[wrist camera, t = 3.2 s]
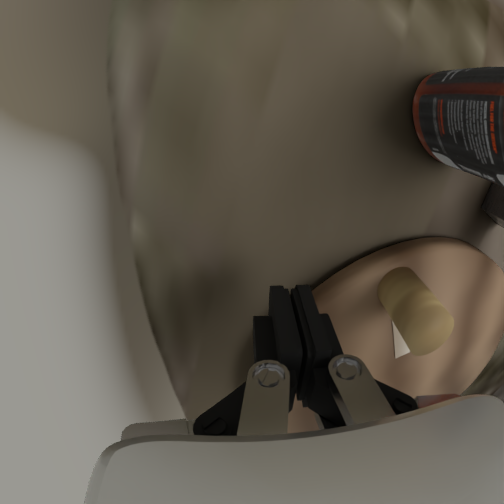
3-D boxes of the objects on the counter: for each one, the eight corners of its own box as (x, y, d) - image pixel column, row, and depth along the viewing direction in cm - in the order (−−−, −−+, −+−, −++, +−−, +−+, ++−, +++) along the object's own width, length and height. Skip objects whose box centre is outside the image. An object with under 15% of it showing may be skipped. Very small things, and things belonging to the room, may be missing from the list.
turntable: (506, 193, 14) (565, 226, 8) (477, 377, 24) (498, 413, 18) (199, 315, 18) (182, 395, 12) (299, 451, 28) (305, 495, 22)
